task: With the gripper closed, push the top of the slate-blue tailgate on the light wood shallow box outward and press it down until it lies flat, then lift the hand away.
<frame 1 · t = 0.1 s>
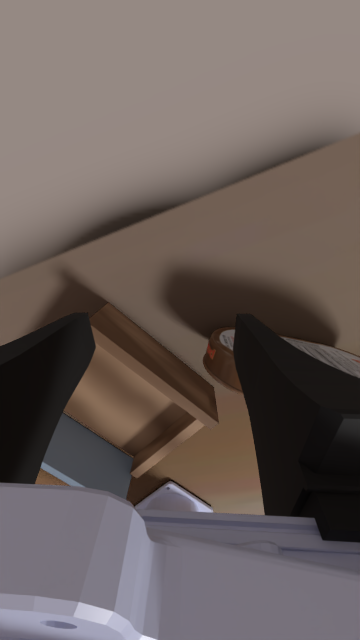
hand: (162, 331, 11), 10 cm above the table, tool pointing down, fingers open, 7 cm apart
light wood shallow box: (128, 383, 25), on the table
tailgate: (76, 451, 23), point 4 cm above the table, hinge at 0.0°
tin: (278, 343, 23), on the table
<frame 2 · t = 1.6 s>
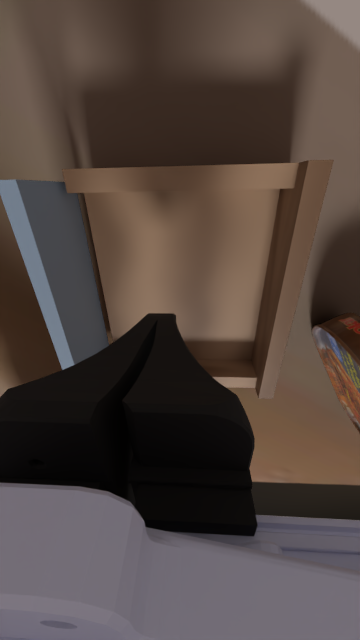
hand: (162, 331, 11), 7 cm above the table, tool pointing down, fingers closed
light wood shallow box: (189, 280, 18), on the table
tailgate: (77, 305, 14), point 4 cm above the table, hinge at 0.0°
tin: (342, 362, 21), on the table
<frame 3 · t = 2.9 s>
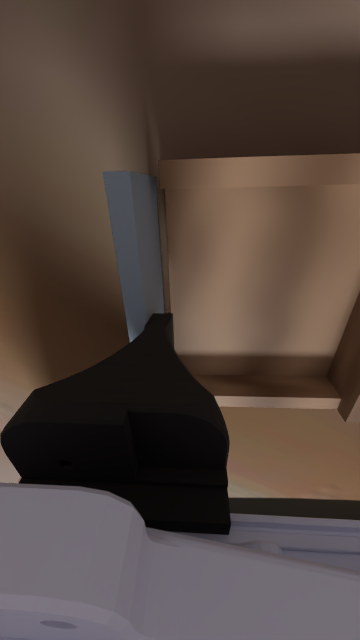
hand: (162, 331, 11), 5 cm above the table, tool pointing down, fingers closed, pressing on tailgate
light wood shallow box: (261, 288, 16), on the table
tailgate: (150, 319, 12), point 4 cm above the table, hinge at 0.9°, touching gripper
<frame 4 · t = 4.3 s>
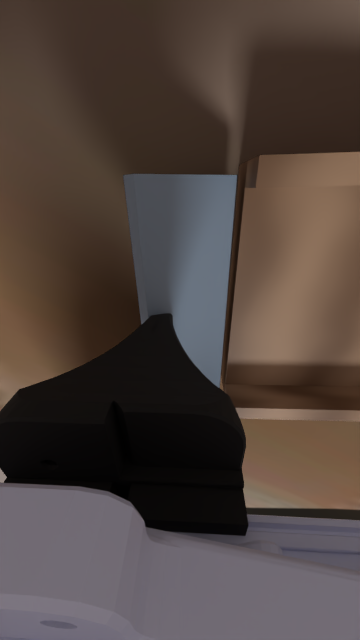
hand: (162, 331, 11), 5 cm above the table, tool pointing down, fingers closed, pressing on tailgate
light wood shallow box: (323, 293, 15), on the table
tailgate: (189, 317, 12), point 3 cm above the table, hinge at 51.2°, touching gripper
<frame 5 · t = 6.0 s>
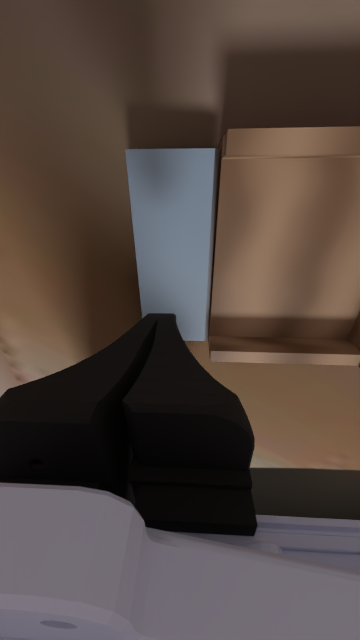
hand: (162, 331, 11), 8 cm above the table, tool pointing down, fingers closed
light wood shallow box: (292, 257, 17), on the table
tailgate: (174, 262, 16), point 2 cm above the table, hinge at 88.0°
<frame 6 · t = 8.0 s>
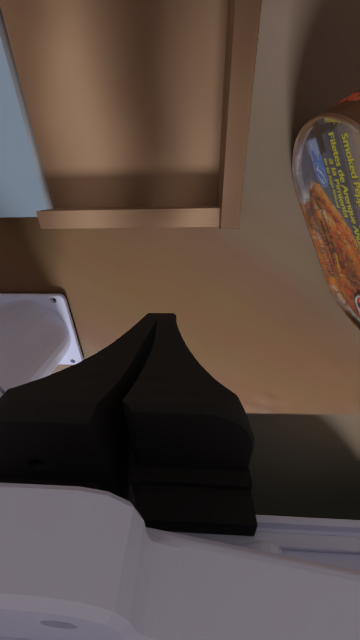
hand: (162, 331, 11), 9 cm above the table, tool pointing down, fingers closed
light wood shallow box: (137, 95, 14), on the table
tin: (332, 230, 18), on the table
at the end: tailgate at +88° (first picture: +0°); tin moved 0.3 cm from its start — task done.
